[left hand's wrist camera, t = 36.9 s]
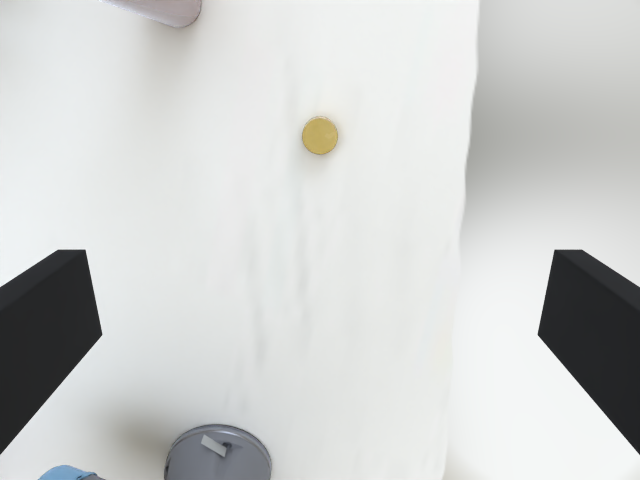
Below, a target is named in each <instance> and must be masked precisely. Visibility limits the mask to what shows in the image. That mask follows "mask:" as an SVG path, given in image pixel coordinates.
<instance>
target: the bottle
mask: <svg viewBox="0 0 640 480" xmlns="http://www.w3.org/2000/svg"><path fill="white" fill-rule="evenodd" d="M99 1H102V2H104V3H107V4H110V5H113V6H116V7H118V8H121V9H124V10H127V11H130V12H132V13H135V14H138V15H141V16H144V17H147V18H149V19H152V20H155V21H158V22H161V23H163V24H166V25H169V26H172V27H178V28H180V27H185V26H188V25H190V24H191V23H193V22H194V21H195V20H196V18H197V17H198V15H199V13H200V10H201V0H99Z"/></svg>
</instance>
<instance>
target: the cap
mask: <svg viewBox="0 0 640 480" xmlns="http://www.w3.org/2000/svg"><path fill="white" fill-rule="evenodd" d="M337 138H338V134H337V130H336V127H335V125H334V123H333V122H332V121H331V120H329V119H328V118H326V117H314V118H312V119H311V120H309V121H308V122H307V123H306V125H305V127H304V130H303V134H302V139H303V143H304V145H305V147H306V148H307V149H308V150H309V151H311V152H312V153H315V154H325V153H328V152H329V151H331V150H332V149H333V148H334V147H335V145H336V143H337Z"/></svg>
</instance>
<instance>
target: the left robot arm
mask: <svg viewBox="0 0 640 480" xmlns="http://www.w3.org/2000/svg"><path fill="white" fill-rule="evenodd" d="M101 336H102V330H101V325H100V320H99V315H98V310H97V305H96V300H95V295H94V290H93V285H92V280H91V275H90V270H89V265H88V260H87V255H86V250H57V251H55V252H54V253H52V254H51V255H49V256H48V257H46V258H45V259H43V260H41V261H40V262H38V263H37V264H35V265H34V266H32V267H31V268H29V269H28V270H26V271H25V272H23V273H21V274H20V275H18V276H17V277H15V278H14V279H12V280H11V281H9V282H8V283H6V284H5V285H3V286H1V287H0V454H1V453H2V452H3V451H4V450H5V449H6V447H7V446H8V445H9V444H10V443H11V442H12V440H13V439H14V438H15V437H16V436H17V434H18V433H19V432H20V431H21V430H22V429H23V427H24V426H25V425H26V424H27V423H28V422H29V420H30V419H31V418H32V417H33V416H34V415H35V413H36V412H37V411H38V410H39V409H40V407H41V406H42V405H43V404H44V403H45V402H46V400H47V399H48V398H49V397H50V396H51V395H52V393H53V392H54V391H55V390H56V389H57V388H58V386H59V385H60V384H61V383H62V382H63V380H64V379H65V378H66V377H67V376H68V375H69V373H70V372H71V371H72V370H73V369H74V368H75V366H76V365H77V364H78V363H79V362H80V361H81V359H82V358H83V357H84V356H85V355H86V353H87V352H88V351H89V350H90V349H91V348H92V346H93V345H94V344H95V343H96V342H97V341H98V339H99V338H100V337H101ZM538 336H539V337H540V338H541V339H542V341H543V342H544V343H545V344H546V345H547V346H548V348H549V349H550V350H551V351H552V352H553V353H554V355H555V356H556V357H557V358H558V359H559V360H560V362H561V363H562V364H563V365H564V366H565V368H566V369H567V370H568V371H569V372H570V373H571V375H572V376H573V377H574V378H575V379H576V380H577V382H578V383H579V384H580V385H581V386H582V388H583V389H584V390H585V391H586V392H587V393H588V394H589V396H590V397H591V398H592V399H593V400H594V402H595V403H596V404H597V405H598V406H599V407H600V409H601V410H602V411H603V412H604V413H605V415H606V416H607V417H608V418H609V419H610V420H611V422H612V423H613V424H614V425H615V426H616V427H617V429H618V430H619V431H620V432H621V433H622V434H623V436H624V437H625V438H626V439H627V440H628V442H629V443H630V444H631V445H632V446H633V447H634V449H635V450H636V451H637V452H638V453H639V454H640V287H638V286H637V285H635V284H634V283H632V282H631V281H629V280H628V279H626V278H625V277H623V276H622V275H620V274H619V273H617V272H615V271H614V270H612V269H611V268H609V267H608V266H606V265H605V264H603V263H602V262H600V261H599V260H597V259H595V258H594V257H592V256H591V255H589V254H588V253H586V252H585V251H583V250H555V251H554V255H553V260H552V265H551V270H550V275H549V280H548V286H547V290H546V295H545V300H544V305H543V310H542V315H541V320H540V325H539V330H538ZM270 476H271V460H270V457H269V454H268V452H267V450H266V449H265V447H264V446H263V445H262V444H261V443H260V442H259V441H258V440H257V439H256V438H255V437H253V436H252V435H250V434H249V433H247V432H245V431H243V430H240V429H237V428H234V427H230V426H224V425H207V426H202V427H198V428H195V429H192V430H190V431H188V432H186V433H185V434H183V435H182V436H180V437H179V438H178V439H177V440H176V441H175V443H174V444H173V446H172V448H171V450H170V452H169V455H168V457H167V460H166V465H165V470H164V479H165V480H270ZM38 480H105V479H102V478H100V477H98V476H97V474H96V473H94V472H85V471H82V470H80V469H77V468H74V467H72V466H68V465H62V466H57V467H54V468H52V469H50V470H49V471H47V472H46V473H45V474H43V475H42V476H41V477H40V478H39V479H38Z"/></svg>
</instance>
